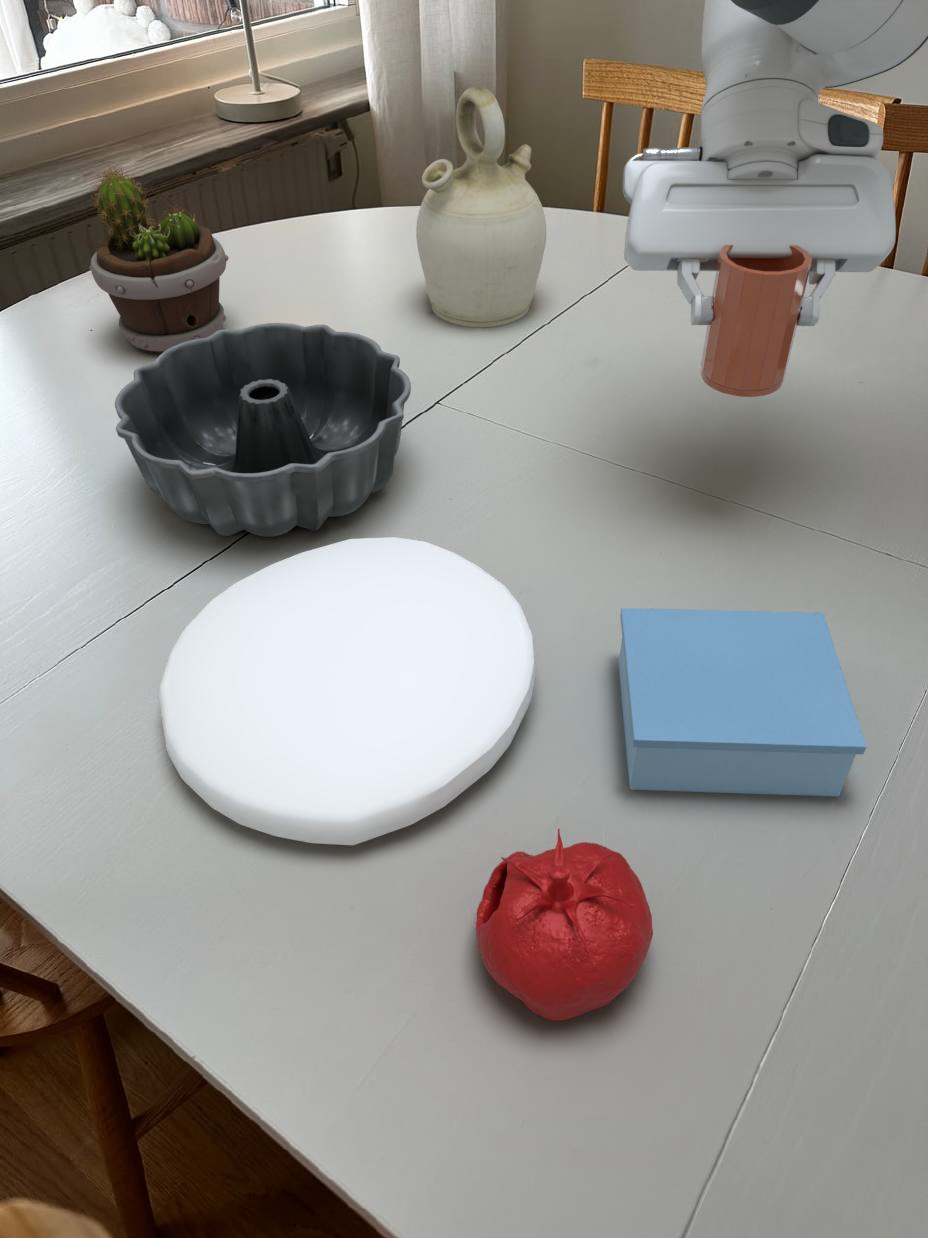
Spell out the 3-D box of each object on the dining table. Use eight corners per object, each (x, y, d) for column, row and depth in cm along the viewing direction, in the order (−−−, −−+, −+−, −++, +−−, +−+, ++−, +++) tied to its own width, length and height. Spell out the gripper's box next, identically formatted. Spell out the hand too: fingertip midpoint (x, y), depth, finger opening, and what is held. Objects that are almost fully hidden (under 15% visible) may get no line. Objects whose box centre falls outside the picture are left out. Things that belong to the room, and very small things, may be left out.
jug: (434, 344, 115) (426, 112, 98) (408, 289, 126) (397, 72, 109) (558, 328, 117) (571, 100, 100) (523, 276, 128) (529, 62, 111)
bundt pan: (420, 560, 85) (415, 463, 79) (115, 577, 84) (83, 480, 78) (411, 404, 105) (406, 316, 98) (163, 416, 104) (141, 328, 97)
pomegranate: (679, 971, 57) (703, 884, 51) (545, 1073, 53) (553, 992, 47) (570, 854, 63) (579, 763, 57) (442, 937, 59) (437, 849, 53)
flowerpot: (264, 324, 119) (236, 150, 105) (183, 381, 109) (140, 197, 96) (171, 301, 124) (132, 132, 111) (85, 353, 114) (31, 175, 101)
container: (805, 670, 75) (823, 612, 71) (843, 804, 66) (867, 747, 62) (613, 665, 76) (621, 607, 72) (624, 797, 66) (634, 739, 62)
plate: (363, 890, 56) (67, 697, 68) (379, 939, 61) (100, 751, 72) (606, 588, 70) (328, 472, 82) (604, 647, 75) (341, 529, 87)
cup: (775, 357, 82) (801, 238, 75) (790, 397, 77) (819, 274, 70) (695, 356, 82) (714, 237, 75) (705, 396, 77) (726, 273, 70)
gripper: (628, 126, 74) (624, 307, 73) (905, 126, 73) (903, 310, 72) (619, 168, 80) (615, 335, 79) (874, 168, 79) (872, 338, 78)
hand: (754, 323), depth 76 cm, fingers closed on cup, 6 cm apart
